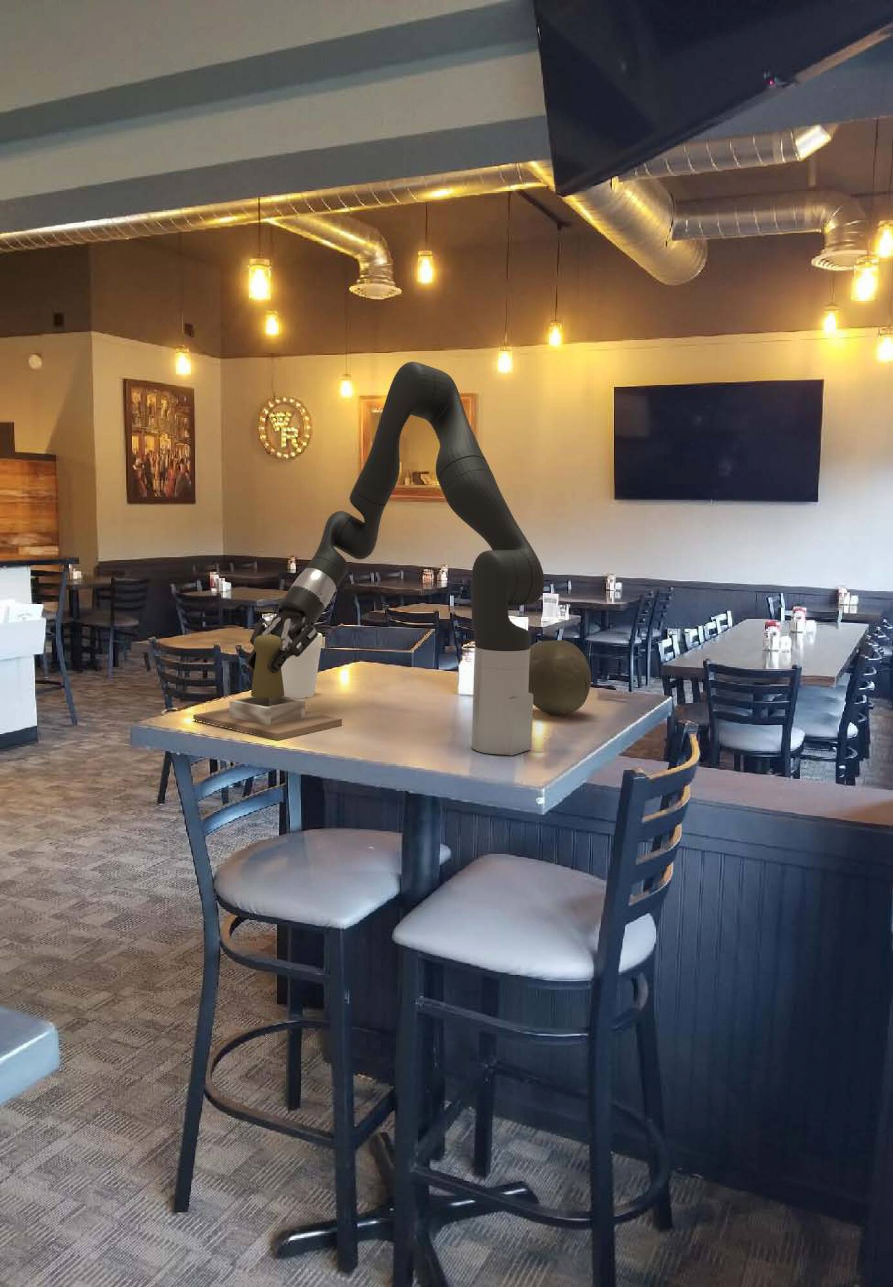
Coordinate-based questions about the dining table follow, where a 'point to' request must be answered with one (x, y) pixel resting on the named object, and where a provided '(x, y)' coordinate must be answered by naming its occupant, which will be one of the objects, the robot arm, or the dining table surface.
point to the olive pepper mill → (266, 668)
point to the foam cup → (302, 671)
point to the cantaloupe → (558, 677)
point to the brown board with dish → (269, 717)
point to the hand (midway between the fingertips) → (260, 668)
